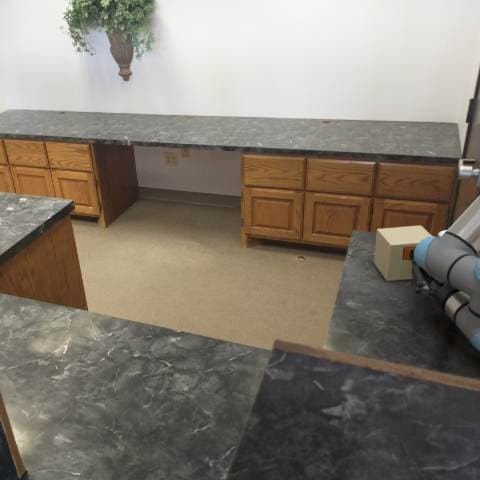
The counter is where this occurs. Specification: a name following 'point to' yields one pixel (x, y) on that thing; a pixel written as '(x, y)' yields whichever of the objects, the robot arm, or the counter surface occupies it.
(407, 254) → the orange block
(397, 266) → the beige box with handle
